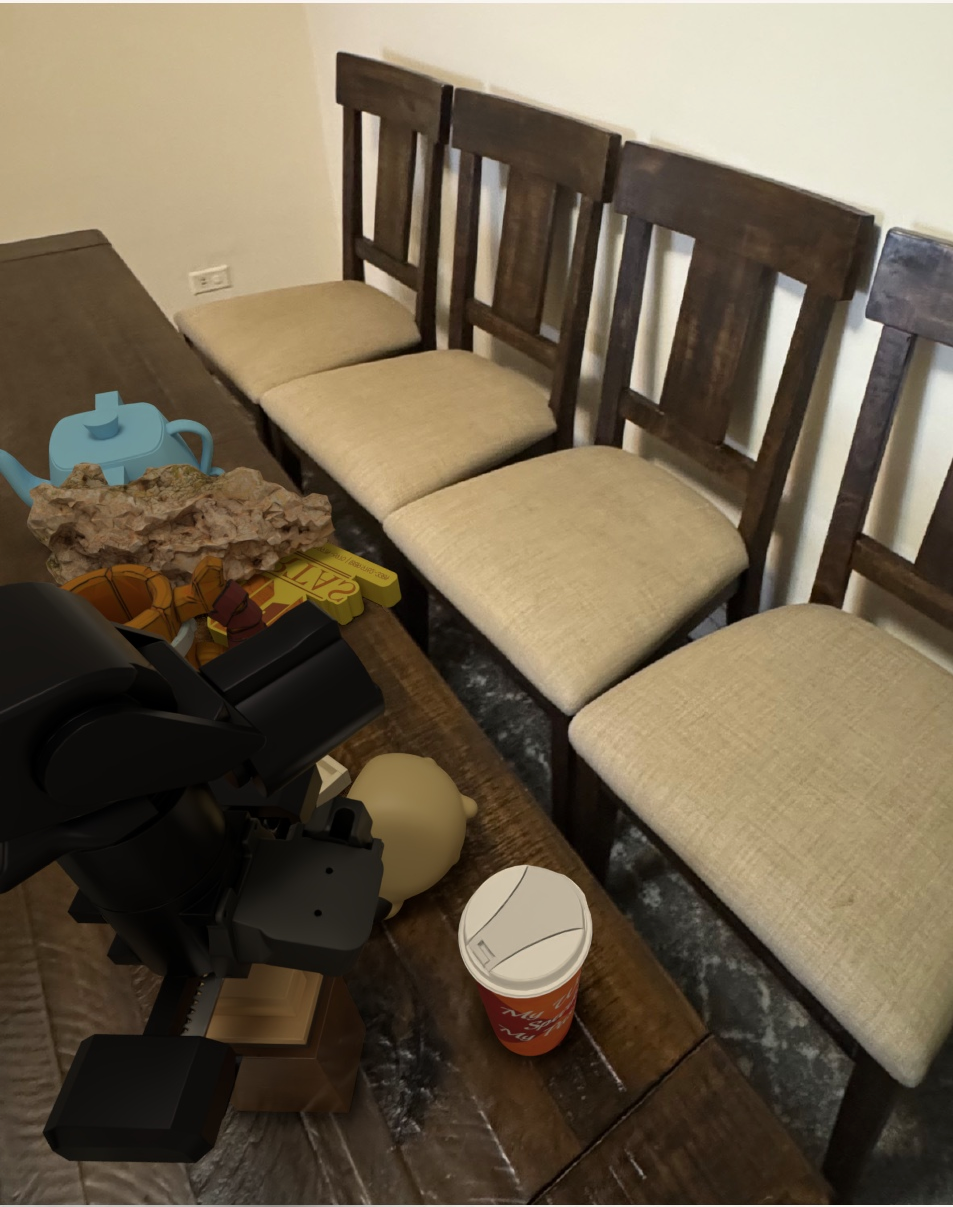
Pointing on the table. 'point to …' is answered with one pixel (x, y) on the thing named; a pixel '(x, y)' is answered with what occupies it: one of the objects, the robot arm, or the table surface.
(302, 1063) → the brown block
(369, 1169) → the table surface
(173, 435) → the teapot
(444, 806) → the tan animal figurine
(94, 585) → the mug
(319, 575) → the decorative sign
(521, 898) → the paper cup
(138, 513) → the rock
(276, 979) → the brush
